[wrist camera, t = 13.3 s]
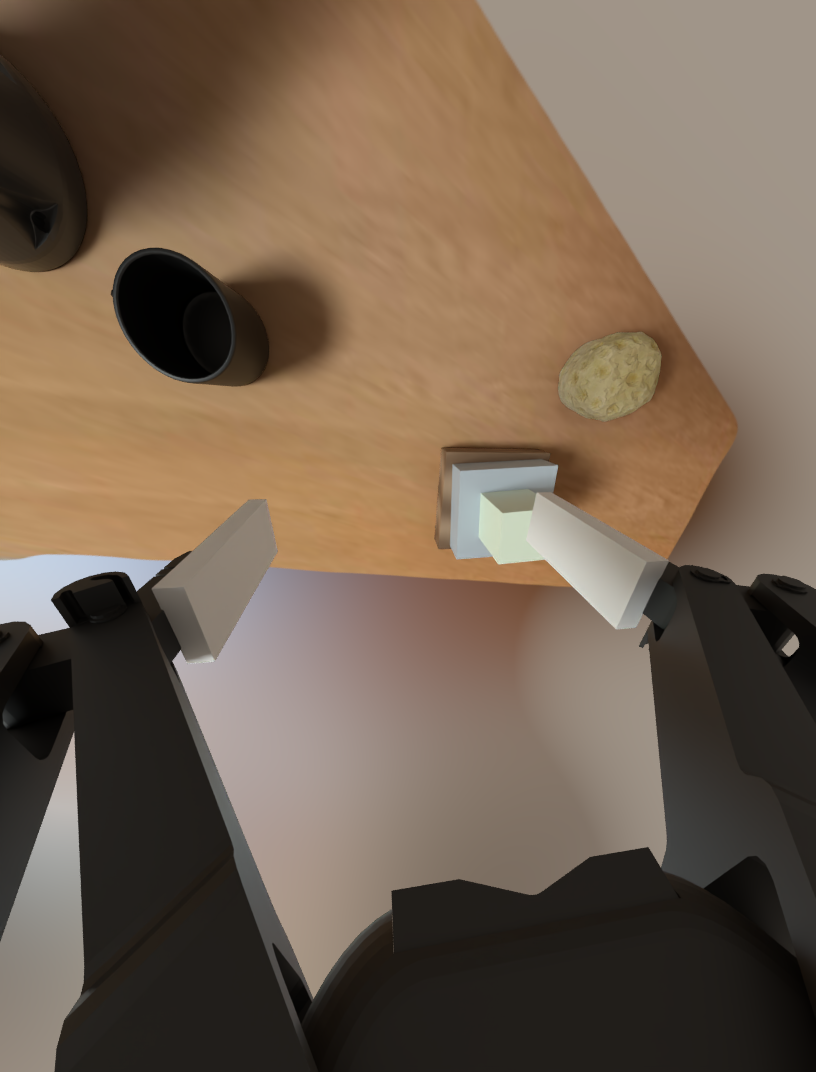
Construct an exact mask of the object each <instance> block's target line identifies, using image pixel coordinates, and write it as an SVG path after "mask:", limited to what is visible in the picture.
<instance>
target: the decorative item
mask: <svg viewBox="0 0 816 1072" xmlns="http://www.w3.org/2000/svg"><path fill="white" fill-rule="evenodd" d="M661 357H662V355H661V352H660V350H659V348H658V346H657V344H656V343H655V341H654V340H653V339H652V338H651V337H649V336H647V335H646V334H644V333H643V332H636V333H635V332H632V333H629V332H617V333H615V334H611V335H608V336H606V337H603V338H601V339H597V340H595V341H591V342H588V343H586V344H584V345H583V346H581V347H580V348H579V349H577V350H576V351H575V352H574V353H573V354H572V355H571V357H570V358H569V360H568V361H567V362H566V364H565V366H564V367H563V368H562V370H561V372H560V375H559V383H558V384H559V386H558V392H559V396H560V399H561V402H562V403H563V404H564V405H565V406H566V407H568V408H569V409H571V410H573V411H575V412H577V414H580V415H581V416H584V417H585V418H589V419H595V420H601V421H603V422H604V421H609V420H612V419H615V418H618V417H622V416H625V415H628V414H630V413H632V412H634V411H636V410H637V409H638V408H639V407H641V406H642V405H643V404H645V403H647V402H649V401H650V400H651V398H652V396H653V394H654V393H655V388H656V385H657V383H658V379H659V374H660V366H661Z"/></svg>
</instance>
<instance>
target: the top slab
mask: <svg viewBox="0 0 816 1072" xmlns="http://www.w3.org/2000/svg"><path fill="white" fill-rule="evenodd" d="M557 469H558V465H556V464H553V463H551V462H548V461H545V460H543V459H534V460H516V461H498V462H480V463H463V464H453V467H452V499H451V532H450V547H451V549H452V551H453V553H454V555H455V557H456V559H467V558H480V557H493V556H492V555H491V553H490V552H489V551H488V549H487V548H486V547H485V545H484V544H483V542H482V541H481V540H480V538H479V517H480V496H481V493H487V492H498V491H510V490H521V489H529V490H531V491H533V492H534V493H537V492H552V493H553V491H554V485H555V480H556V475H557Z"/></svg>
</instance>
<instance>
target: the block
mask: <svg viewBox="0 0 816 1072" xmlns="http://www.w3.org/2000/svg"><path fill="white" fill-rule="evenodd" d="M535 498H536V493H534V492H533V491H531V490H529V489H521V490H510V491H498V492H487V493H481V496H480V517H479V538H480V540H481V541H482V542H483V544H484V545H485V547H486V548H487V549H488V551H489V552H490V553H491V555H492V556H493V558H494V559H495V560H496V562H497V563H498V564H506V563H516V562H526V561H535V560H545V559H544V558H543V557H542V556H541V555H540V554H539V553H538V552H537V551H536V550H535V549H534V548H533V547H532V546H531V545H530V544H529V543H528V542H527V541H526V538H527V534H528V529H529V525H530V520H531V516H532V511H533V507H534V502H535Z"/></svg>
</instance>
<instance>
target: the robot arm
mask: <svg viewBox="0 0 816 1072" xmlns="http://www.w3.org/2000/svg"><path fill="white" fill-rule="evenodd" d="M86 221H87V203H86V195H85V189H84V184H83V180H82V176H81V173H80V169H79V166H78V164H77V161H76V158H75V156H74V153H73V151H72V149H71V146H70V144H69V142H68V140H67V138H66V136H65V134H64V132H63V130H62V129H61V127H60V125H59V123H58V122H57V120H56V118H55V117H54V115H53V114H52V112H51V111H50V109H49V108H48V106H47V105H46V103H45V102H44V101H43V99H42V98H41V97H40V95H39V94H38V93H37V92H36V90H35V89H34V88H33V87H32V86H31V84H30V83H29V82H28V81H27V80H26V79H25V78H24V77H23V76H22V75H21V73H20V72H19V71H18V70H17V69H16V68H15V67H14V66H12V65H11V64H10V63H9V62H8V61H7V60H6V59H5V58H4V57H3V56H2V55H1V54H0V265H3V266H6V267H9V268H13V269H17V270H22V271H30V272H40V271H47V270H51V269H55V268H57V267H59V266H61V265H63V264H64V263H66V262H67V261H68V260H69V259H71V258H72V256H73V255H74V254H75V253H76V251H77V250H78V248H79V246H80V244H81V242H82V240H83V237H84V233H85V228H86ZM526 541H527V542H528V543H529V544H530V545H531V546H532V547H533V548H534V549H535V550H536V551H537V552H538V553H539V554H540V555H541V556H542V557H543V558H544V559H545V560H546V561H547V562H548V563H549V564H550V565H551V566H552V567H553V568H554V569H555V570H556V571H557V572H558V573H559V574H560V575H561V576H563V577H564V578H565V579H566V580H567V581H568V582H569V583H570V584H571V585H572V586H573V587H574V588H575V589H576V590H577V591H578V592H579V593H580V594H581V595H582V596H583V597H584V598H585V599H586V600H587V601H588V602H589V603H590V604H591V605H592V606H593V607H594V608H595V609H596V610H597V611H598V612H599V613H600V614H601V615H602V616H603V617H604V618H605V619H606V620H607V621H608V622H609V623H610V624H611V625H612V626H613V627H614V628H615V629H626V628H636V627H637V625H638V623H639V620H640V619H641V617H642V615H643V614H644V615H646V616H647V617H648V618H649V619H651V620H652V621H651V623H650V625H649V627H648V629H647V631H646V633H645V635H644V637H643V639H642V641H641V643H640V645H639V647H642V648H643V647H644V645H645V644H648V643H649V652H650V662H651V672H652V684H653V694H654V705H655V714H656V726H657V736H658V747H659V756H660V757H659V758H660V768H661V779H662V788H663V800H664V810H665V821H666V831H667V846H666V852H665V856H664V859H663V863H662V866H661V867H660V866H659V864H658V863H657V861H656V859H655V857H654V856H653V854H652V853H651V851H650V849H649V848H648V847H647V848H640V849H635V850H629V851H623V852H617V853H611V854H606V855H599V856H593V857H589V858H588V859H587V860H585V861H584V862H583V863H581V864H580V865H579V866H577V867H576V868H574V869H573V870H572V871H570V872H569V873H567V874H566V875H565V876H563V877H562V878H561V879H559V880H558V881H556V882H555V883H553V884H552V885H551V886H549V887H548V888H547V889H545V890H544V891H542V892H541V893H539V894H537V895H527V894H522V893H518V892H513V891H509V890H504V889H500V888H496V887H491V886H487V885H482V884H478V883H473V882H469V881H465V880H460V879H458V880H452V881H446V882H440V883H435V884H429V885H423V886H417V887H411V888H405V889H399V890H393V891H392V910H390V911H388V912H387V913H385V914H384V915H382V916H381V917H379V918H378V919H376V920H375V921H374V922H373V923H372V924H371V925H369V926H368V927H367V928H366V929H365V930H364V931H363V932H361V933H360V934H359V935H358V936H357V938H356V939H355V940H354V941H353V942H352V943H351V944H350V946H349V947H348V948H347V949H346V950H345V951H344V953H343V954H342V955H341V957H340V958H339V959H338V961H337V962H336V964H335V965H334V967H333V968H332V969H331V971H330V972H329V974H328V975H327V977H326V978H325V980H324V982H323V984H322V985H321V987H320V989H319V991H318V992H317V994H316V996H315V998H314V999H313V997H312V994H311V992H310V990H309V987H308V985H307V982H306V980H305V977H304V975H303V973H302V970H301V968H300V966H299V963H298V961H297V958H296V956H295V954H294V951H293V949H292V947H291V944H290V942H289V940H288V938H287V935H286V933H285V931H284V929H283V927H282V925H281V923H280V921H279V919H278V916H277V914H276V912H275V910H274V907H273V905H272V903H271V900H270V898H269V895H268V893H267V890H266V888H265V886H264V883H263V881H262V878H261V876H260V873H259V871H258V868H257V866H256V863H255V861H254V859H253V856H252V854H251V851H250V849H249V846H248V844H247V841H246V839H245V837H244V834H243V832H242V829H241V827H240V825H239V822H238V819H237V817H236V814H235V812H234V810H233V807H232V805H231V802H230V800H229V798H228V795H227V792H226V790H225V787H224V785H223V783H222V780H221V778H220V775H219V773H218V770H217V768H216V765H215V763H214V761H213V758H212V756H211V753H210V751H209V748H208V746H207V743H206V741H205V739H204V736H203V734H202V731H201V729H200V726H199V724H198V721H197V719H196V716H195V714H194V712H193V709H192V707H191V704H190V702H189V699H188V697H187V695H186V693H185V690H184V687H183V685H182V682H181V680H180V677H179V675H178V672H177V670H176V668H175V666H174V664H173V662H172V660H173V659H174V658H175V657H176V655H177V654H178V653H179V651H180V650H181V651H182V653H183V655H184V657H185V660H186V662H187V664H190V663H203V662H215V660H216V659H217V657H218V655H219V653H220V652H221V650H222V648H223V646H224V645H225V643H226V641H227V639H228V638H229V636H230V634H231V632H232V631H233V629H234V627H235V625H236V624H237V622H238V620H239V618H240V617H241V615H242V613H243V611H244V610H245V608H246V606H247V604H248V603H249V601H250V599H251V597H252V596H253V594H254V592H255V590H256V588H257V587H258V585H259V583H260V581H261V580H262V578H263V576H264V574H265V573H266V571H267V569H268V568H269V566H270V564H271V562H272V561H273V559H274V557H275V555H276V553H277V552H278V550H277V546H276V541H275V536H274V532H273V527H272V523H271V518H270V514H269V509H268V505H267V500H266V499H255V500H248V501H247V502H246V503H245V504H244V505H242V506H241V507H240V508H239V509H238V510H237V511H236V512H235V513H234V514H233V515H231V516H230V517H229V518H228V519H227V520H226V521H225V522H224V523H223V524H222V525H221V526H219V527H218V528H217V529H216V530H215V531H214V532H213V533H212V534H211V535H210V536H209V537H207V538H206V539H205V540H204V541H203V542H202V543H201V544H200V545H199V546H198V547H197V548H195V549H194V550H193V551H188V552H186V553H185V554H183V555H181V556H179V557H177V558H175V559H174V560H172V561H171V562H170V563H169V564H168V565H167V566H165V567H164V569H163V570H161V571H160V572H159V573H157V574H156V577H153V578H152V579H151V580H149V581H148V582H147V583H146V584H145V585H144V586H143V587H141V588H140V589H139V590H138V591H137V592H136V590H135V588H134V586H133V584H132V582H131V580H130V578H129V576H128V575H127V574H125V573H123V572H107V573H101V574H97V575H93V576H89V577H86V578H83V579H81V580H78V581H75V582H73V583H71V584H69V585H67V586H65V587H63V588H62V589H61V590H59V591H58V592H57V593H55V594H54V596H53V598H52V599H51V601H52V602H53V604H54V605H55V607H56V608H57V610H58V611H59V613H60V614H61V615H62V617H63V618H64V620H65V621H66V623H67V624H68V626H69V627H70V628H67V629H63V630H59V631H54V632H50V633H45V634H41V635H37V633H36V632H35V631H34V629H33V628H32V627H31V625H29V624H27V623H26V622H10V623H5V624H0V941H1V937H2V935H3V932H4V929H5V926H6V923H7V921H8V918H9V915H10V912H11V909H12V906H13V904H14V901H15V898H16V895H17V892H18V889H19V886H20V884H21V881H22V878H23V875H24V872H25V869H26V867H27V864H28V861H29V858H30V855H31V852H32V849H33V847H34V844H35V841H36V838H37V835H38V832H39V829H40V827H41V824H42V821H43V818H44V815H45V812H46V809H47V806H48V804H49V801H50V798H51V795H52V792H53V790H54V787H55V784H56V781H57V778H58V776H59V773H60V770H61V767H62V764H63V761H64V758H65V756H66V753H67V750H68V747H69V744H70V741H71V738H72V735H73V733H75V758H76V781H77V803H78V827H79V851H80V874H81V897H82V921H83V944H84V984H83V988H82V992H81V996H80V998H79V999H78V1001H77V1002H76V1004H75V1005H74V1007H73V1008H72V1010H71V1011H70V1013H69V1014H68V1016H67V1017H66V1018H65V1020H64V1023H63V1027H62V1030H61V1034H60V1038H59V1041H58V1045H57V1049H56V1061H55V1072H816V589H814V588H812V587H811V586H809V585H806V584H804V583H802V582H801V581H799V580H797V579H794V578H790V577H787V576H777V575H772V574H760V575H758V576H757V577H756V579H755V581H754V582H753V583H752V585H751V586H750V587H748V586H739V585H736V584H735V583H734V582H733V581H732V580H731V579H729V578H728V577H727V576H724V575H722V574H720V573H718V572H716V571H714V570H711V569H708V568H703V567H699V566H693V565H691V566H690V565H684V566H681V567H677V566H676V565H674V564H672V563H671V562H669V560H667V559H665V558H664V557H662V556H660V555H658V554H657V553H655V552H653V551H652V550H650V549H648V548H646V547H645V546H643V545H641V544H640V543H638V542H636V541H634V540H633V539H631V538H629V537H627V536H626V535H624V534H622V533H621V532H619V531H617V530H615V529H614V528H612V527H610V526H608V525H607V524H605V523H603V522H602V521H600V520H598V519H596V518H595V517H593V516H591V515H590V514H588V513H586V512H584V511H583V510H581V509H579V508H577V507H576V506H574V505H572V504H571V503H569V502H567V501H565V500H564V499H562V498H560V497H558V496H557V495H555V494H553V493H552V492H537V493H536V498H535V502H534V507H533V511H532V516H531V520H530V525H529V529H528V534H527V538H526ZM794 634H795V635H796V636H797V638H798V640H799V648H798V649H797V650H796V651H795V652H794V654H792V655H791V656H790V657H788V656H787V655H786V654H785V653H784V652H783V651H782V648H783V647H784V646H785V645H786V644H787V643H788V641H789V640H790V639H791V638H792V636H793V635H794ZM392 917H393V927H392ZM393 943H394V952H393Z"/></svg>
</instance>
